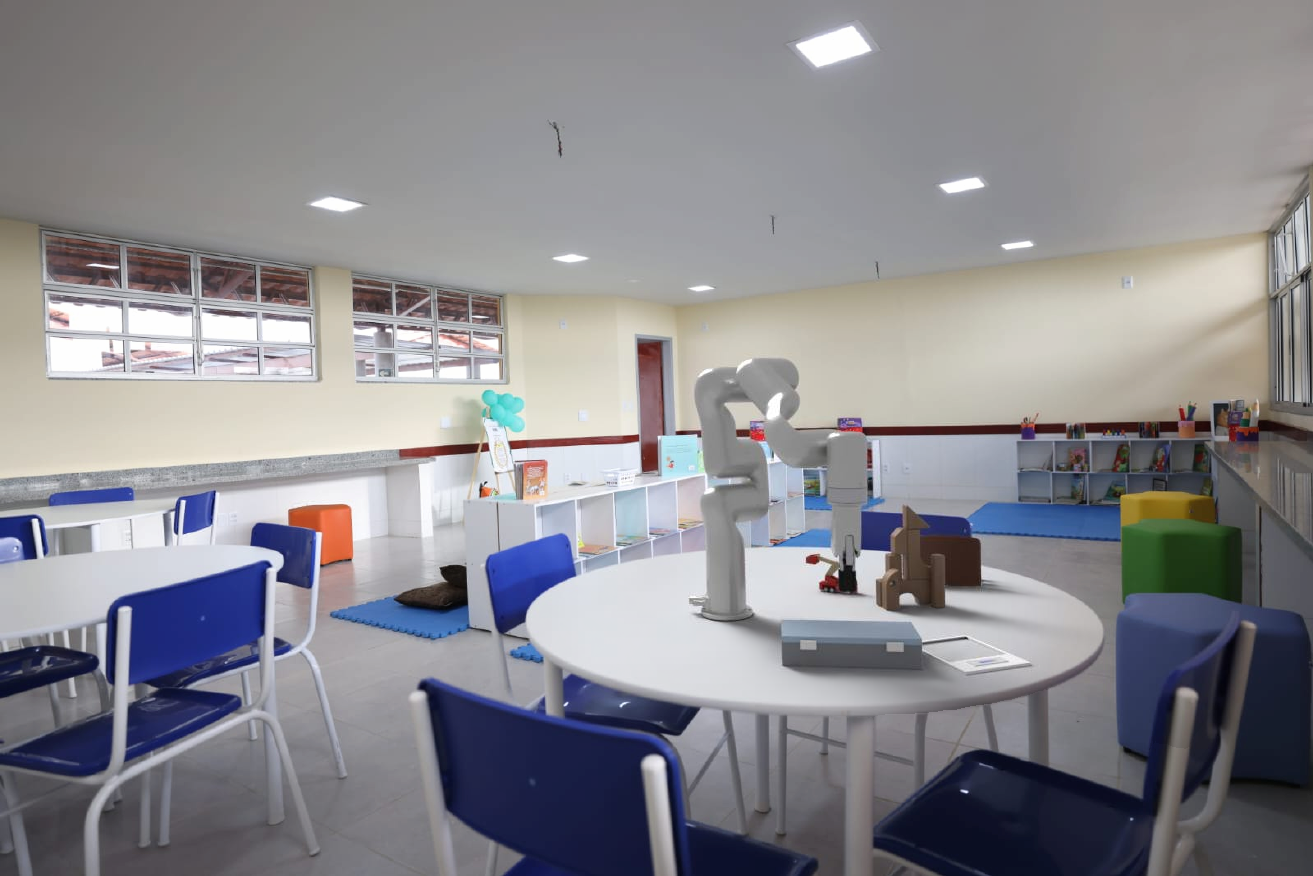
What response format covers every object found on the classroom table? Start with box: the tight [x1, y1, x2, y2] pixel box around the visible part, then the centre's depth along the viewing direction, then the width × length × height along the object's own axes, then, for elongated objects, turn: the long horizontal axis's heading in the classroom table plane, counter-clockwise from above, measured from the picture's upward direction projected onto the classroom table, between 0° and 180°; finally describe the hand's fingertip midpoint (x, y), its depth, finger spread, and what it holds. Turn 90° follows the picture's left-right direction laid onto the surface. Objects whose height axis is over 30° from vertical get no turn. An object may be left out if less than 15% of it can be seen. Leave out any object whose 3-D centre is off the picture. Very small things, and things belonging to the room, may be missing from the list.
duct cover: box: [780, 619, 923, 652], centre depth 144 cm, size 26×12×2 cm, turn 81°
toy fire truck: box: [805, 553, 859, 595], centre depth 197 cm, size 3×14×10 cm, turn 58°
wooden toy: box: [875, 504, 946, 611], centre depth 180 cm, size 16×7×25 cm, turn 94°
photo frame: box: [922, 634, 1032, 676], centre depth 144 cm, size 15×1×18 cm
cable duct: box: [781, 633, 923, 670], centre depth 144 cm, size 26×11×4 cm, turn 81°
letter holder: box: [902, 534, 982, 587], centre depth 204 cm, size 10×20×14 cm, turn 75°
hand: (847, 590), depth 140 cm, fingers closed
